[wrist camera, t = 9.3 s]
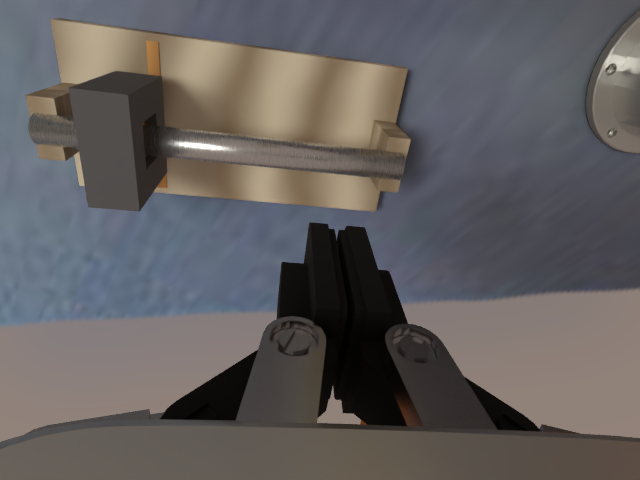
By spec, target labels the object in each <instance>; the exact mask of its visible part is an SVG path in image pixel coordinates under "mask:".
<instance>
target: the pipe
mask: <svg viewBox="0 0 640 480" xmlns="http://www.w3.org/2000/svg"><path fill="white" fill-rule="evenodd" d="M142 124H143V136H144V148H145V157H147V156H157V157H167V158H177V159H187V160H198V161H208V162H218V163H228V164H238V165H248V166H258V167H268V168H278V169H288V170H298V171H308V172H318V173H328V174H338V175H348V176H359V177H369V178H379V179H389V180H400V179H401V178H402V175H403V173H404V168H405V155H404V153H399V152H390V151H385V150H376V149H367V148H358V147H349V146H340V145H331V144H322V143H313V142H304V141H294V140H285V139H276V138H267V137H258V136H249V135H240V134H231V133H222V132H212V131H203V130H194V129H185V128H176V127H167V126H158V125H149V124H147V122H143V123H142ZM29 134H30V137H31V139H32V141H33V142H34V143H35V144H37V145H47V146H57V147H67V148H77V149H78V143H77V137H76V131H75V125H74V119H73V116H67V115H52V114H43V113H33V114H32V115H31V117H30V119H29Z"/></svg>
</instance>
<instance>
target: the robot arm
mask: <svg viewBox="0 0 640 480" xmlns="http://www.w3.org/2000/svg"><path fill="white" fill-rule="evenodd" d="M586 113H587V118H588V121H589V125H590V127H591V129H592V130H593V132H594V134H595V136H597V137H598V138H599V139H600V140H601V141H602V142H603V143H604V144H606V145H608V146H610V147H612V148H614V149H617V150H620V151H623V152H628V153H636V154H637V153H640V10H639V11H638V12H637V13H636V14H635V15H633V16H632V17H631V18H630V19H629V20H628V21H627V22H626V23H625V24H623V26H622V27H621V28H620V29H619V30H618V31H617V33H616V34H615V35H614V36H613V37H612V38H611V40H610V41H609V43H608V44H607V46H606V47H605V49H604V50H603V52H602V53H601V55H600V57H599V59H598V61H597V63H596V65H595V67H594V69H593V72H592V75H591V78H590V81H589V85H588V90H587V97H586ZM332 386H333V388H334V397H335V399H336V400H341V401H342V409H343V413H354V414H355V415H356V416H357V417H358V418H360V419H361V424H360V425H357V424H327V423H317V418H318V417H319V416H321V415H322V414H323V413H324V412H325V411H326V408H327V404H328V399H330V395H331V391H332ZM0 480H640V438H632V437H621V436H609V435H591V434H580V433H576V432H572V431H568V430H563V429H559V428H555V427H551V426H547V425H543V424H542V425H541V427H540V429H539V428H537V426H536V425H535V424H534V423H533V422H531V421H530V420H529V419H528V418H527V417H525V416H524V415H523V414H521V413H519V412H518V411H516V410H515V409H513V408H512V407H510V406H509V405H507V404H505V403H504V402H502V401H501V400H499V399H498V398H496V397H495V396H493V395H492V394H490V393H489V392H487V391H485V390H484V389H482V388H481V387H479V386H478V385H476V384H475V383H473V382H471V381H470V380H468V379H467V378H465V377H464V376H463V374H462V373H461V371H460V370H459V368H458V366H457V365H456V363H455V362H454V360H453V359H452V357H451V355H450V354H449V352H448V351H447V349H446V347H445V346H444V344H443V343H442V342H441V340H440V339H439V338H438V337H437V336H436V335H435V334H433V333H432V332H431V331H429V330H427V329H425V328H423V327H421V326H417V325H413V324H408V323H407V320H406V317H405V314H404V311H403V308H402V306H401V303H400V300H399V297H398V294H397V292H396V289H395V286H394V283H393V280H392V278H391V275H390V273H389V271H387V270H378V268H377V264H376V261H375V258H374V255H373V252H372V249H371V245H370V242H369V239H368V236H367V233H366V230H365V228H364V227H353V226H346V228H345V230H339V232H338V237H337V241H336V235H335V230H334V229H329V228H328V224H321V223H310V224H309V229H308V237H307V244H306V252H305V259H304V264H300V263H288V262H282V265H281V274H280V284H279V295H278V308H277V320H274V321H273V322H271V323H270V324H269V325H268V326H267V327H266V329H265V331H264V333H263V336H262V339H261V342H260V345H259V349H258V350H257V351H255V352H254V353H252V354H251V355H249V356H247V357H246V358H244V359H242V360H241V361H239V362H238V363H236V364H235V365H233V366H231V367H230V368H228V369H227V370H225V371H224V372H222V373H220V374H219V375H217V376H215V377H214V378H212V379H211V380H209V381H207V382H206V383H204V384H203V385H201V386H200V387H198V388H197V389H195V390H194V391H192V392H190V393H188V394H187V395H185V396H184V397H182V398H180V399H179V400H177V401H176V402H175V403H173V404H172V405H171V406H170V407H169V408H167V410H166V411H165V412H163V413H156V414H150V410H149V409H147V410H141V411H135V412H129V413H123V414H116V415H109V416H103V417H97V418H91V419H84V420H78V421H71V422H65V423H59V424H53V425H47V426H44V427H41V428H37V429H34V430H32V431H30V432H29V433H27V434H25V435H22V436H19V437H15V438H12V439H8V440H5V441H2V442H0Z"/></svg>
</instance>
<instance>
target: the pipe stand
mask: <svg viewBox="0 0 640 480" xmlns="http://www.w3.org/2000/svg"><path fill="white" fill-rule="evenodd" d="M50 20H51V25H52V31H53V37H54V42H55V48H56V54H57V60H58V65H59V71H60V77H61V82H62V83H61V84H58V85H55V86H52V87H49V88H46V89H43V90H40V91H37V92H34V93H31V94H28V95H26V100H27V104H28V109H29V113H30V117H31V115H32V114H33V113H43V114H52V115H67V116H73V113H72V107H71V101H70V95H69V89H68V88H69V87H72V86H75V85H77V84H80V83H83V82H86V81H89V80H91V79H94V78H97V77H100V76H103V75H105V74H108V73H111V72H114V71H123V72H131V73H139V74H147V75H154V76H162V87H163V104H164V121H165V126H167V127H176V128H185V129H194V130H203V131H212V132H222V133H231V134H240V135H249V136H258V137H267V138H276V139H285V140H294V141H304V142H313V143H322V144H331V145H340V146H349V147H358V148H367V149H376V150H385V151H390V152H399V153H404V155H405V161H406V157H407V153H408V149H409V145H410V141H411V139H410V138H409V137H408V136H407V135H406V134H405V133H404V132H403V131H402V130H401V129H400V128H399V127H398V126H397V125H396V120H397V115H398V111H399V106H400V102H401V97H402V93H403V88H404V84H405V80H406V75H407V71H408V69H406V68H404V67H401V66H394V65H387V64H380V63H373V62H366V61H359V60H351V59H344V58H337V57H330V56H323V55H316V54H309V53H302V52H295V51H288V50H281V49H273V48H266V47H259V46H252V45H245V44H238V43H231V42H224V41H217V40H210V39H203V38H195V37H188V36H181V35H174V34H167V33H160V32H153V31H146V30H139V29H132V28H125V27H117V26H110V25H103V24H96V23H89V22H82V21H75V20H68V19H50ZM36 145H37V144H36ZM37 150H38V154H39V158H40V159H51V160H61V161H66V160H68V159H69V158H71V157H72V156H73V155H74V157H75V162H76V168H77V174H78V179H79V185H80V186H85V184H84V178H83V172H82V167H81V161H80V155H79V149H77V148H67V147H57V146H47V145H37ZM400 181H401V179H400V180H389V179H379V178H369V177H359V176H348V175H338V174H328V173H318V172H308V171H298V170H288V169H278V168H268V167H258V166H248V165H238V164H228V163H218V162H208V161H198V160H187V159H177V158H167V173H166V175H165V176H164V178H163V179H162V180H161V182H160V183H159V185H158V186H157V187H156V189H155V190H154V192H157V193H169V194H180V195H192V196H203V197H215V198H226V199H238V200H249V201H261V202H272V203H283V204H295V205H306V206H318V207H329V208H341V209H352V210H364V211H375V212H376V208H377V204H378V199H379V195H380V191H387V192H398V190H399V186H400Z"/></svg>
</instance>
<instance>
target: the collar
mask: <svg viewBox="0 0 640 480" xmlns="http://www.w3.org/2000/svg"><path fill="white" fill-rule="evenodd" d="M68 89H69V95H70V101H71V107H72V113H73V119H74V125H75V131H76V137H77V143H78V149H79V155H80V161H81V167H82V172H83V178H84V184H85V190H86V196H87V202H88V207H92V208H105V209H117V210H130V211H140V210H141V209H142V207H143V206H144V204H145V203H146V201H147V200H148V199H149V197H150V196H151V194H152V193H153V192H154V190H155V189H156V187H157V186H158V185H159V183H160V182H161V180H162V179H163V178H164V176H165V175H166V173H167V157H157V156H147V157H145V148H144V136H143V124H142V123H143V122H147V124H149V125H158V126H165V121H164V104H163V87H162V76H154V75H147V74H139V73H131V72H123V71H114V72H111V73H108V74H105V75H103V76H100V77H97V78H94V79H91V80H89V81H86V82H83V83H80V84H77V85H75V86H72V87H69V88H68Z"/></svg>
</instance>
